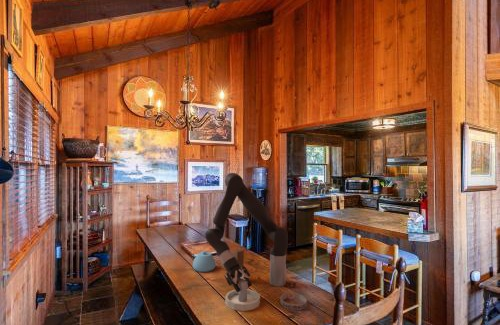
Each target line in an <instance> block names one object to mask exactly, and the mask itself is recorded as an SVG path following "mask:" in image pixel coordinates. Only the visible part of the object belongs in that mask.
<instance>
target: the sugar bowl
mask: <svg viewBox="0 0 500 325" xmlns="http://www.w3.org/2000/svg"><path fill="white" fill-rule="evenodd" d="M215 260H216V259H215V258H214V256H213V254H212V253H210V252H208V250H203V251H201V252H198V253H197V254H196V256H195V257H194V259H193V261H192V268H193V270H194V271H196V272H199V273H208V272H211V271H213V270H214V269H215V268H216V261H215Z"/></svg>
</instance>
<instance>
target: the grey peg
mask: <svg viewBox="0 0 500 325" xmlns="http://www.w3.org/2000/svg"><path fill="white" fill-rule="evenodd" d="M238 286H239V288H240V289H241V291H240V292H239V296H238V300H239V301H240V302H246V301H247V289H248V285H247V281H246V280H244V279H243V280H242V281H239V282H238Z"/></svg>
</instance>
